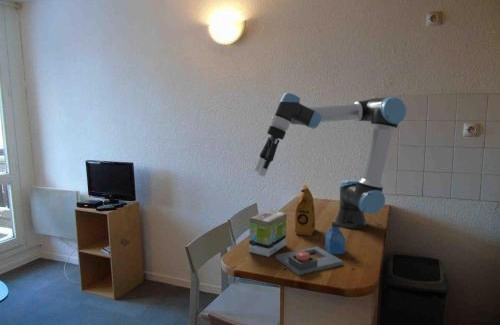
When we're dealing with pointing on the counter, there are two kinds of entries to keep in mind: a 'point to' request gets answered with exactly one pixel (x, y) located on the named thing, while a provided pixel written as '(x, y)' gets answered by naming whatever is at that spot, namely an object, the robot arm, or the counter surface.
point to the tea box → (267, 232)
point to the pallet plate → (311, 265)
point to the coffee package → (305, 213)
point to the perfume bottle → (335, 240)
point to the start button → (302, 256)
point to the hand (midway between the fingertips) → (258, 173)
